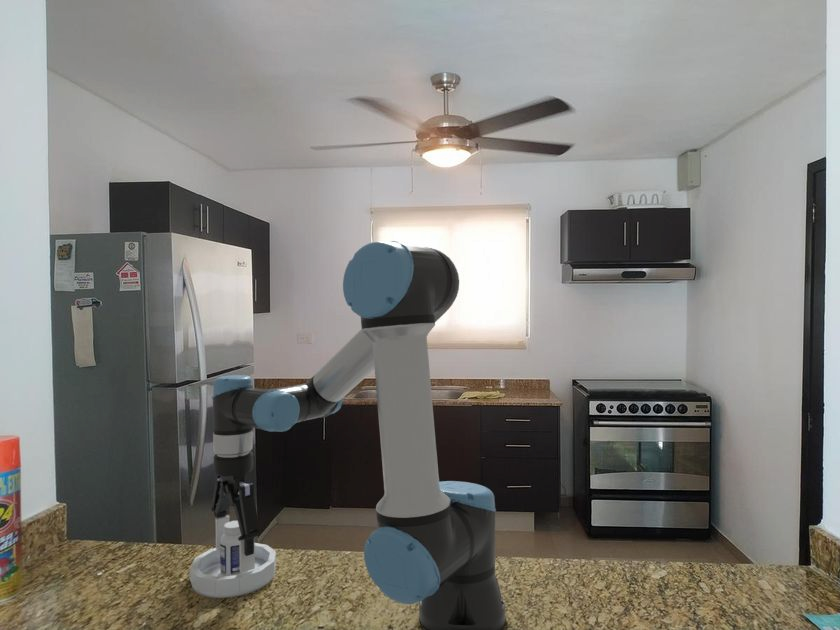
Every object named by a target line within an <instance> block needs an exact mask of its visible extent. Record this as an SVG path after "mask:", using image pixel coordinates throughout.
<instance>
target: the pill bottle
mask: <svg viewBox="0 0 840 630" xmlns="http://www.w3.org/2000/svg"><path fill="white" fill-rule="evenodd" d="M224 533H225V534H224V535H223V536H222V537H221V539H220V571H221V575H222V576H234V575H240V574H243V573H246V572H247V571H246V572H243V573H241V572H240V552H239V540H238V538H239V537H240V536H241V532H240V528H239V524H238V520H231V521H230V522H228V523H226V524H225V525H224Z"/></svg>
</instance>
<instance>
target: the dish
mask: <svg viewBox="0 0 840 630" xmlns="http://www.w3.org/2000/svg"><path fill="white" fill-rule="evenodd" d="M276 567H277V550H276V551H275V549H274V548H272V547H271V546H269V545H268V544H264V543H258V542H255V569H252V570H249V571H247V572H246V573H243V574H240V575H234V576H222V575H221V571H220V550H216V547H214V548H210V549H208V550H207V551H205V552H202V553H201V554H200V555H197V556H195V558H194V559H193V561H192V563H191V565H190V567H189V581H190V583H191V587H192V590H193V591H194V592H195V593H197V594H198V595H200V596H203V597H207V598H213V599H226V598H234V597H240V596H243V595H247V594H250V593H251V594H252V592H253V593H254V592H256V591H258V590H259V589H262V588H264V587H265V586H267V585H268V584H269V583H270V582H271V581H273V579H274V577H275V574H276Z"/></svg>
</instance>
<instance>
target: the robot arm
mask: <svg viewBox="0 0 840 630" xmlns="http://www.w3.org/2000/svg"><path fill="white" fill-rule="evenodd" d="M342 280H343V281H342V289H343V290H342V291H343V297H344V300H345V302H346V305H347V306H349V307H350V308H351V311H352V313H354V314H356V315H357V316H358V317H360V324H361V325H360V326H361V329H359V330H358V332H357V333H355V334H354V335H353V336H352V338H351V339H350V340H348V341H347V343H346V344H345V345H344V346H342V347H341V348H340V349H339V350H338V352H336V353H335V354H334V356H332V358H330V359H329V361H327V362H326V363H325V364H324V365H323V366H322V367H321V368H320V369H318V371H317V372H316V373H315V374H314V375H313V376H311V378H310V379H308V381H306V382H305V383H301V384H300V383H299V384H292V385H287V386H281V387H275V388H267V389H266V388H265V389H264V388H255V387H254V384H253V378H252V377H251V376H249V375H246V374H245V375H243V374H234V375H233V374H230V375H221V376H219V377H217V378H215V379H214V381H213V392H212V394H213V395H212V397H211V398H212V412H213V413H212V418H213V420H212V422H213V423H212V425H213V428H212V429H213V432H212V438H213V440H212V447H213V449H212V451H213V453H214V454H215V455H213V473H214V474H215V475H214V476H215V478H214V479H215V483H214V488H213V495H212V501H211V505H210V510H211V512H213V516H214V517H215V518H214V519H215V520H214V521H215V525H214V526H215V548H216V550H220V539H221V537H222V536H223V535H224V534H225V533H224V525H225V524H226V523H228V522H230V519H231V518H230V515H231V510H230V507H233V509H234V511H235V516H236V519H237V520H236V521H238V524H239V528H240V532H241V536H240V537H239V538H238V540H239V552H240V572H241V573H243V572H246V571H249V570H252V569H255V543H256V541H255V538H257V537H260V536H261V530H260V529H261V528H260V524H259V517H258V513H257V508H256V501H255V494H254V493H255V491H254V483H253V482H251V483H248V482H247V479H246V475H247V474H248V473H251V472H252V470H253V469H254V453H253V452H252V450H253V445H254V444H253V442H254V441H253V438H254V437H255V433H254V432H253V429H258V430H263V431H267V432H271V433H273V432H279V433H280V432H281V433H283V432H287V431H289V430H290V429H291V428H292V427H293V426H294V425H295V424H297V423H301V422H305V421H310V420H314V419H318V418H326V417H328V416H330V415H332V414H333V415H334V414H335V413H337V412H339V410H341V409H342V404H343V402H344V398H345V397H346V395H348V394H349V393H350V392H351V391H352V390H353V389H355V388H356V387H357V385H359V384H360V383H361V382H362V381H363V380H364V379H366V377H368V376H369V375H370V374H371V373H372V372H374V376H375V377H374V379H375V388H376V389H375V390H376V400H377V402H376V403H377V404H376V405H377V414H378V426H379V427H378V428H379V438H380V450H381V451H380V453H381V463H382V465H381V467H382V477H383V478H382V479H383V490H384V494H383V496H382V498H381V499H380V500H379V501H378V502H377V504H376V506H375V511H376V526H377V528H376V529H375V530H373V531H372V532H371V533H370V535H369V537H368V539H366V541H365V544H364V549H363V560H364V562H365V563H364V564H365V568H366V571H367V573H368V575H369V577H370V579H371V580H372V582H373V584H374V585H375V586H376V587H378V589H379V591H380V592H381V593H382V594H383V595H384V596H386V597H387V598H389V599H390V600H391V601H393V602H396V603H399V604H403V605H413V604H417V603H418V619H419V622H420V624H421V625H422V627H424V629H426V630H503V627H504V626H505V623H506V604H505V601H504V597H503V596H502V593H501V588H500V585H499V581H498V579H497V575H496V513H497V509H496V501H495V495H494V492H493V491H492V490H491V489H490V488H488V487H487V486H484V485H481V484H478V483H473V482H468V481H458V480H457V481H456V480H446V481H444V480H443V481H442V480H441V481H440V477H439V475H440V474H439V467H438V454H437V453H438V451H437V444H436V443H437V442H436V431H435V429H436V428H435V419H434V418H435V417H434V406H433V405H434V404H433V396H432V395H433V394H432V382H431V371H430V361H429V351H428V350H429V348H428V335H429V333H430V332H431V331H432V330H433V329H434V327H435V326H436V322H438V320H440V319H441V317H442V316H444V314H446V312H448V310H449V309H450V308H451V307H452V306H453V305H454V302H455V301H456V298H457V297H458V294H459V290H460V277H459V273H458V269H457V267H456V265H455V263H454V262H453V260H452V259H451V258H450V257H449V256H447V255H446V254H445V253H443V252H442V251H440V250H438V249H435V248H432V247H428V246H427V247H425V246H420V245H413V244H408V243H404V242H401V241H396V240H390V241H385V240H384V241H383V240H379V241H372V242H369V243H367V244H365V245H362V246H361V248H359V249H358V250H357V251H356V252H355V253H354V255H353V257H352V258H351V259H350V260H349V261H348V263H347V266H346V267H345V270H344V273H343V279H342Z"/></svg>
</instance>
